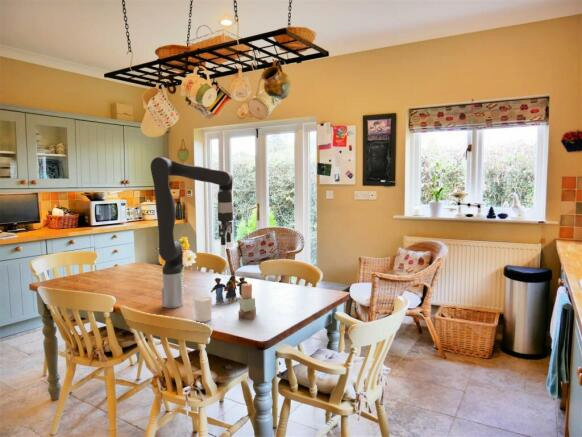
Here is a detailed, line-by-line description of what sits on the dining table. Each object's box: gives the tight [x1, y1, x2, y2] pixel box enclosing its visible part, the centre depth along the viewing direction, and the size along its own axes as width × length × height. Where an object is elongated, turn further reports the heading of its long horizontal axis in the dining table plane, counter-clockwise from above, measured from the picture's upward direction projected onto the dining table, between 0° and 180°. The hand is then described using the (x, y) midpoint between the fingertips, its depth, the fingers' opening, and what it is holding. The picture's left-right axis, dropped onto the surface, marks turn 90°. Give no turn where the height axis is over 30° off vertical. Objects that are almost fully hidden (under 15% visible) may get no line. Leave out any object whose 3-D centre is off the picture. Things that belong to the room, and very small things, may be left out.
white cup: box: [193, 295, 213, 323], centre depth 192 cm, size 8×8×10 cm
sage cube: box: [239, 296, 256, 312], centre depth 194 cm, size 6×6×6 cm
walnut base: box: [238, 306, 257, 321], centre depth 195 cm, size 7×7×4 cm
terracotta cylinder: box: [242, 282, 253, 299], centre depth 194 cm, size 5×5×6 cm
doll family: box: [210, 275, 248, 305], centre depth 221 cm, size 23×9×13 cm, turn 152°
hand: (226, 243), depth 209 cm, fingers open, 8 cm apart
